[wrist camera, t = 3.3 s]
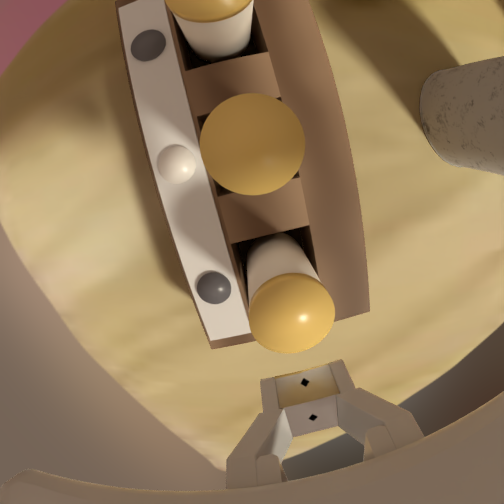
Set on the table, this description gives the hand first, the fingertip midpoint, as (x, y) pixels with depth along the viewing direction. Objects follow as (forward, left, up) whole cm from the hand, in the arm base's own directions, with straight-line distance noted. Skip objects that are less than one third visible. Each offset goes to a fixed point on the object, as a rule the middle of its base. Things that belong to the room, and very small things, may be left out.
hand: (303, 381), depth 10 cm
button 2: (0, 0, -12) cm, 12 cm away
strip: (+4, -8, -10) cm, 13 cm away
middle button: (0, -8, -12) cm, 14 cm away
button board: (0, -8, -15) cm, 17 cm away
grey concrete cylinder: (-20, -8, -15) cm, 26 cm away
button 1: (0, -16, -12) cm, 20 cm away
